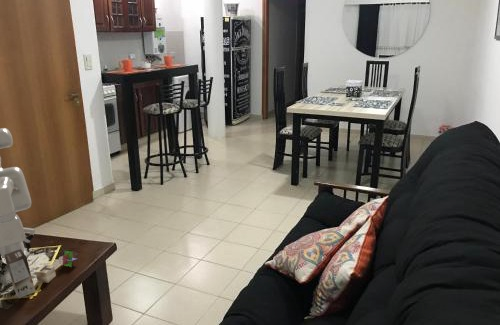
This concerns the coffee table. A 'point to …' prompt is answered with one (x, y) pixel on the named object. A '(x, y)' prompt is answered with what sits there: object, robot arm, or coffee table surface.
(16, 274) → the coffee box
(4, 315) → the coffee table surface
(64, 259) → the geometric puzzle
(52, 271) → the letter block
